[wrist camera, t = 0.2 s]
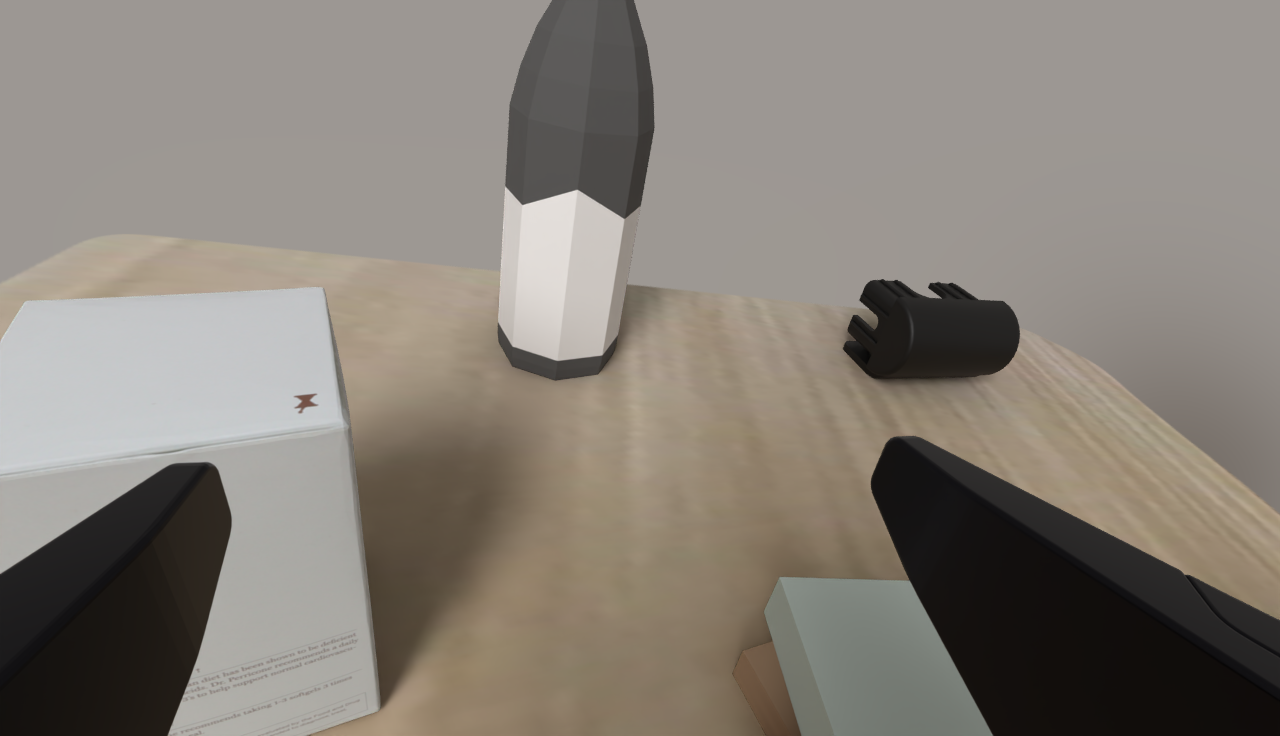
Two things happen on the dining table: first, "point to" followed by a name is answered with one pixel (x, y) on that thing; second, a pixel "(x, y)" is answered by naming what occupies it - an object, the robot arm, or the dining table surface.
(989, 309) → the end cap
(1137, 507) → the dining table surface
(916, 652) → the slab upper
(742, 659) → the slab lower
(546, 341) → the wine bottle
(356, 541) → the supplement box
